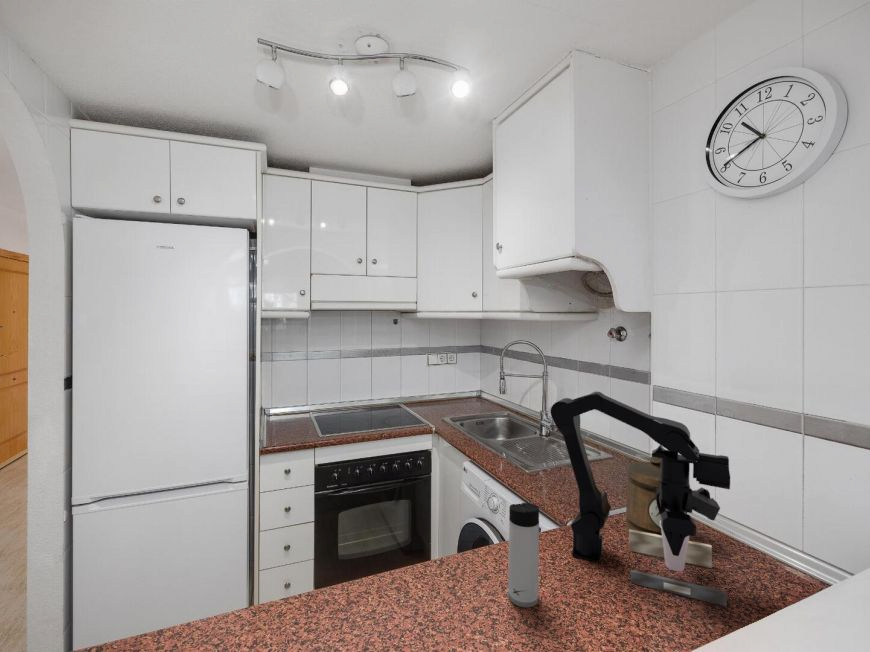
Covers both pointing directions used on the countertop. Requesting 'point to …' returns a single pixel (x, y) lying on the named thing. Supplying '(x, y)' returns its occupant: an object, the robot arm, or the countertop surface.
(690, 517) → the robot arm
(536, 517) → the travel mug
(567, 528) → the countertop surface
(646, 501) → the wooden container
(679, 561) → the smoothie
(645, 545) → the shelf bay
